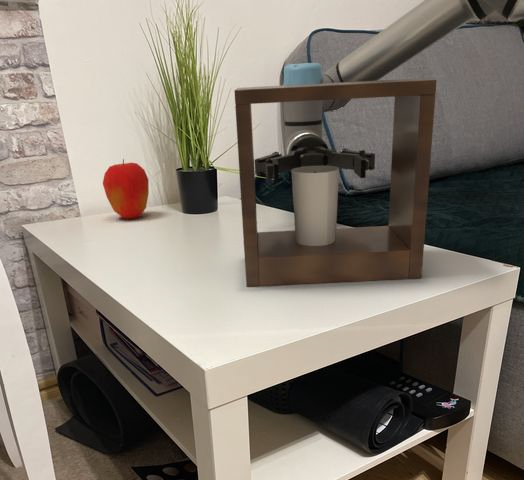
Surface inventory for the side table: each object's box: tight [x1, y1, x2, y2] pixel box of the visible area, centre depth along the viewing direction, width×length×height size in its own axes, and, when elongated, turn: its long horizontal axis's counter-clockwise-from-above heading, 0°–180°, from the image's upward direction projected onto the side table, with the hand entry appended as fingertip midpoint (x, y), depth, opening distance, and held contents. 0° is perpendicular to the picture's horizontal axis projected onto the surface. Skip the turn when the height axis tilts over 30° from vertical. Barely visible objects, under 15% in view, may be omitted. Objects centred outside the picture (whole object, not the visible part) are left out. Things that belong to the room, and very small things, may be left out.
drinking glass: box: [290, 165, 340, 246], centre depth 81 cm, size 7×7×10 cm
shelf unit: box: [233, 78, 438, 288], centre depth 80 cm, size 24×14×25 cm, turn 91°
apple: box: [102, 158, 150, 220], centre depth 120 cm, size 9×9×12 cm
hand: (319, 171), depth 90 cm, fingers open, 13 cm apart
